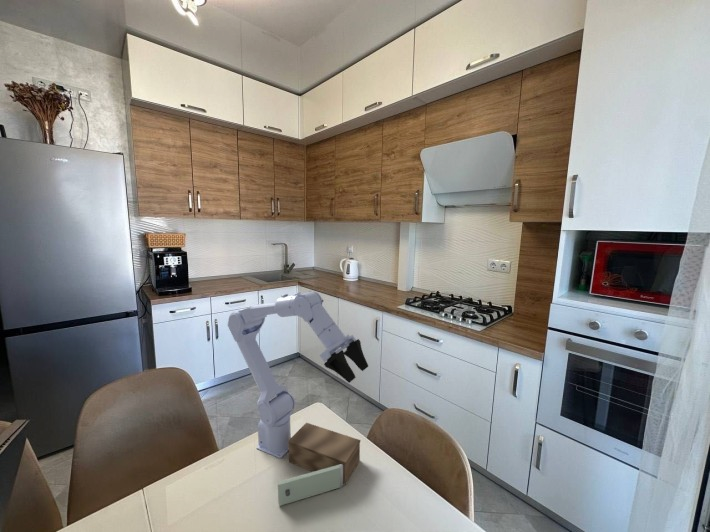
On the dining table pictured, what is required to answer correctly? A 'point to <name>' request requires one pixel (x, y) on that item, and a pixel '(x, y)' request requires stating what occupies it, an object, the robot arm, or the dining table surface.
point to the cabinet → (324, 450)
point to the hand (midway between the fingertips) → (359, 374)
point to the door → (310, 484)
